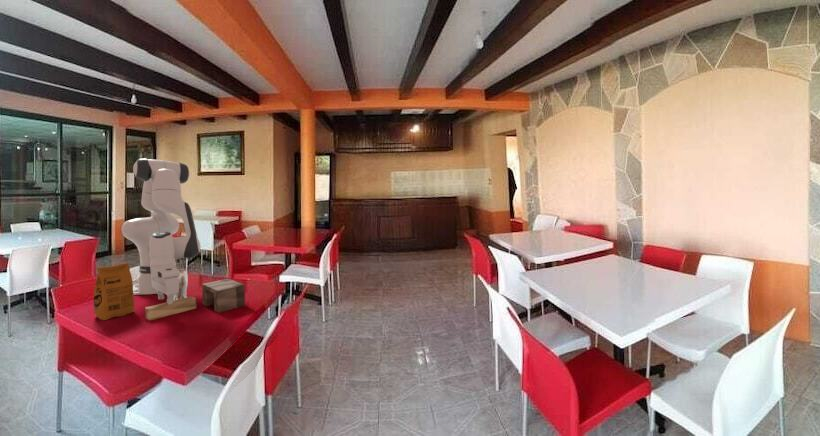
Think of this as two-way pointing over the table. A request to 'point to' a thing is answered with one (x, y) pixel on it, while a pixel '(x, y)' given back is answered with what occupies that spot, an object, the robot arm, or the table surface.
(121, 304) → the coffee package
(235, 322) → the table surface
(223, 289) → the end cap
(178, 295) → the beer glass
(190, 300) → the slat
